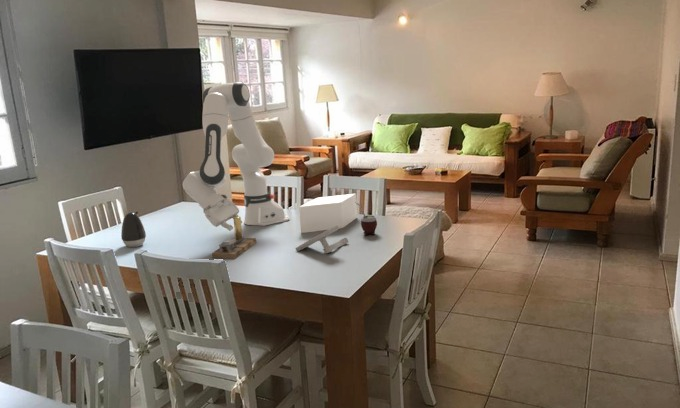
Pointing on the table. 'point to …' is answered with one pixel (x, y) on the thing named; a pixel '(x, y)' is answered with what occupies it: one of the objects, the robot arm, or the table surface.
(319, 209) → the block
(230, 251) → the door and jamb
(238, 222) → the bolt
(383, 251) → the table surface
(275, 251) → the table surface
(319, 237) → the door handle
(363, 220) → the mate gourd
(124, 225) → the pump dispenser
